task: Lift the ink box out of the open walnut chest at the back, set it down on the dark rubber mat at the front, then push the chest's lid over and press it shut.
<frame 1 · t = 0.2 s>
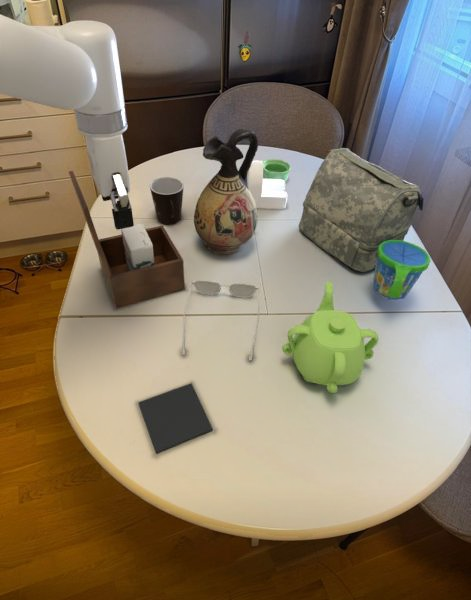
hand: (117, 212, 76), 22 cm above the table, tool pointing down, fingers open, 9 cm apart
mat: (175, 417, 73), on the table
eyeglasses: (221, 325, 88), on the table
ceramic jug: (227, 244, 108), on the table
ink box: (142, 277, 96), point 1 cm above the table, touching chest
chest: (142, 279, 96), on the table
teapot: (322, 360, 83), on the table
sippy cup: (388, 291, 93), point 3 cm above the table
lid: (90, 225, 81), point 17 cm above the table, hinge at 95.0°
ramekin: (274, 179, 133), on the table
lunch bag: (348, 243, 111), on the table
bracket: (252, 199, 124), on the table
coffee mug: (167, 221, 113), on the table
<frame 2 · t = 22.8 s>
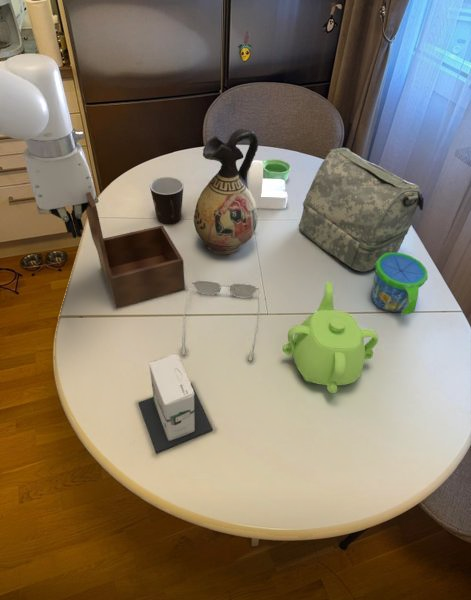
hand: (76, 233, 81), 16 cm above the table, tool pointing down, fingers closed
ink box: (174, 415, 72), resting on mat
sippy cup: (387, 301, 96), on the table
lid: (94, 224, 81), point 17 cm above the table, hinge at 90.0°, touching gripper
everything else where it was.
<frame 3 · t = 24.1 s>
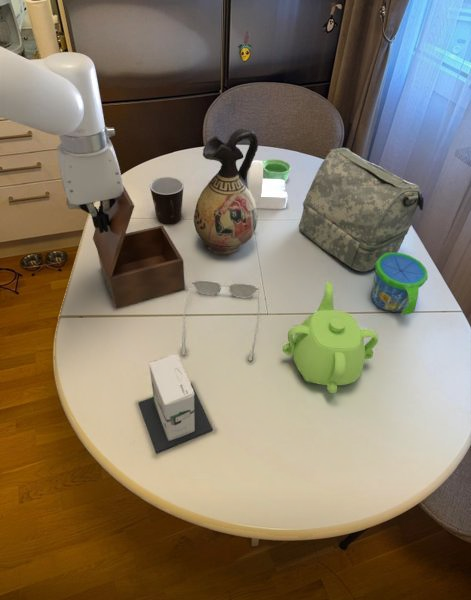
hand: (102, 228, 83), 16 cm above the table, tool pointing down, fingers closed
lid: (111, 223, 83), point 17 cm above the table, hinge at 66.3°, touching gripper
everything else where it was.
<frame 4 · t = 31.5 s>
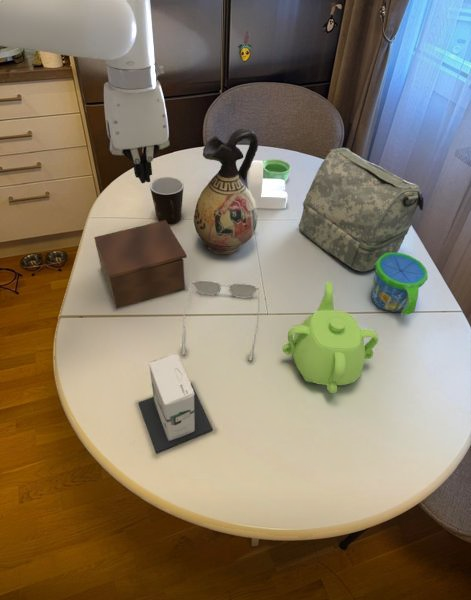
hand: (143, 179, 80), 25 cm above the table, tool pointing down, fingers closed
lid: (139, 247, 90), point 9 cm above the table, hinge at 1.3°
everything else where it was.
at the end: ink box inside the target area on the mat (0.1 cm from its centre), point 0.4 cm above the mat's base; ink box tilted 0°; lid at +1° (first picture: +95°) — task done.
